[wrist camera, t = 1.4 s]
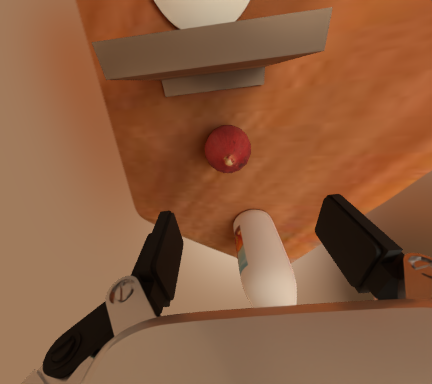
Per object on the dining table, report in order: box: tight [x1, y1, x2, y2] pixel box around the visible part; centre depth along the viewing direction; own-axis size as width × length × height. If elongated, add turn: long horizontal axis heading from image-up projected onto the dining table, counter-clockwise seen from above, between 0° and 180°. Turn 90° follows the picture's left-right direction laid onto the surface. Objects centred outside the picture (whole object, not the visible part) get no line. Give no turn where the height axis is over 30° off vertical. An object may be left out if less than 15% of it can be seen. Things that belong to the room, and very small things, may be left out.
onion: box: [205, 125, 251, 173], centre depth 21 cm, size 6×6×8 cm
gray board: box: [92, 7, 333, 97], centre depth 14 cm, size 5×12×13 cm, turn 96°
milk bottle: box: [233, 209, 297, 308], centre depth 25 cm, size 8×8×20 cm
